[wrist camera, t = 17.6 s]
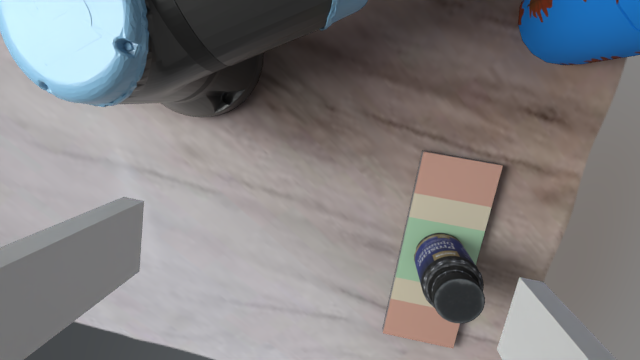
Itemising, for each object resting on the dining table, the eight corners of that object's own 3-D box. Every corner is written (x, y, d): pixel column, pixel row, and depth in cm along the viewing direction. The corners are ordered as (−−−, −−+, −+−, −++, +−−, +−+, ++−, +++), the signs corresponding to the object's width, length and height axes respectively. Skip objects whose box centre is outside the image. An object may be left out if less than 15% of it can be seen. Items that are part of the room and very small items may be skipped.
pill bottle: (444, 221, 46) (467, 258, 36) (475, 259, 47) (507, 307, 36) (402, 251, 48) (413, 295, 37) (433, 288, 48) (452, 342, 37)
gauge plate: (382, 327, 51) (382, 333, 50) (422, 150, 46) (423, 151, 45) (451, 342, 51) (453, 348, 50) (499, 164, 45) (502, 165, 44)
